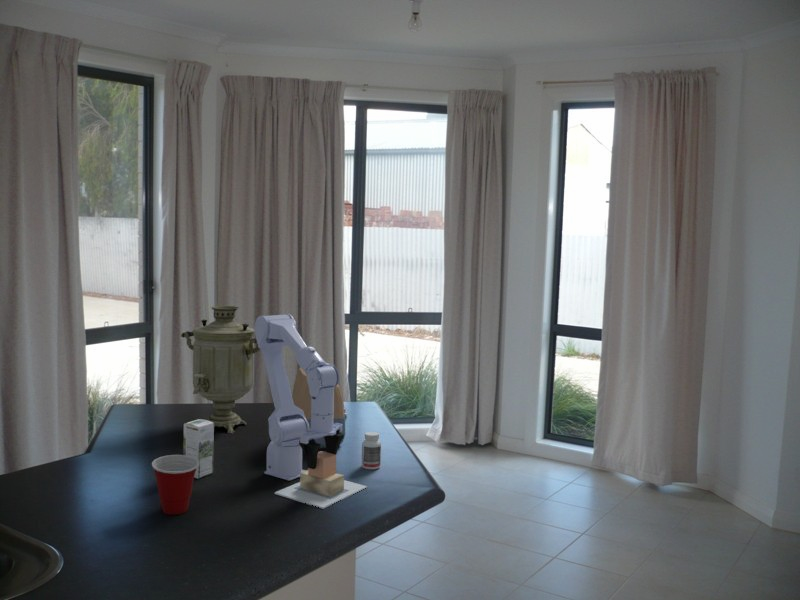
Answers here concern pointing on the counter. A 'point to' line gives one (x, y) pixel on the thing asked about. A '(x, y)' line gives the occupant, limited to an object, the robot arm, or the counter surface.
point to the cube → (324, 465)
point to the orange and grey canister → (304, 403)
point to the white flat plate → (317, 498)
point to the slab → (322, 483)
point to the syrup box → (200, 445)
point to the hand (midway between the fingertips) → (321, 464)
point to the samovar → (223, 363)
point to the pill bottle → (371, 451)
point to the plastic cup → (175, 481)
